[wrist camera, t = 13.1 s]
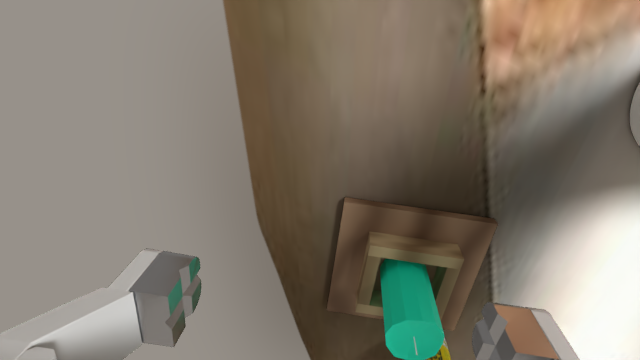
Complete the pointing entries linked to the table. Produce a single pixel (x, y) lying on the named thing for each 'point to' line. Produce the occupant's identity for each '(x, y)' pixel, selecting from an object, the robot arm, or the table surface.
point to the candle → (409, 311)
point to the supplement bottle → (442, 353)
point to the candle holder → (406, 255)
